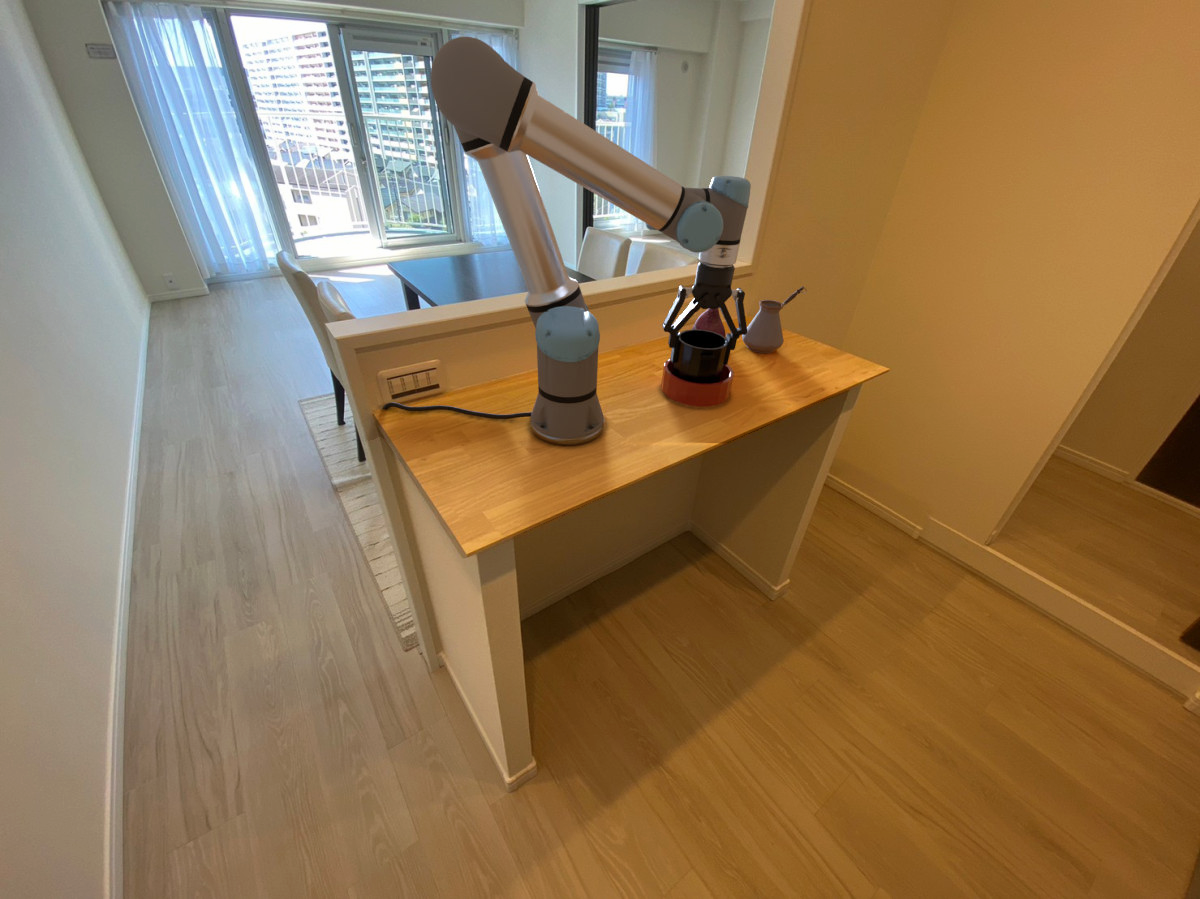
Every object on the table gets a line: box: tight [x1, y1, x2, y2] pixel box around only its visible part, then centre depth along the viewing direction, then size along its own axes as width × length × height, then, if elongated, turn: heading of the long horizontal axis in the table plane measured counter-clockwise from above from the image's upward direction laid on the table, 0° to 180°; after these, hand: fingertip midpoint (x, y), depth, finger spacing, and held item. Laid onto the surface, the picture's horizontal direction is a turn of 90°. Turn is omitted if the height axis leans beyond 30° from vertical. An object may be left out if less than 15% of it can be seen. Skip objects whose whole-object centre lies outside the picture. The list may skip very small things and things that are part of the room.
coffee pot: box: [741, 286, 808, 354], centre depth 139 cm, size 21×12×15 cm, turn 130°
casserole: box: [660, 357, 735, 408], centre depth 116 cm, size 16×16×6 cm
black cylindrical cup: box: [672, 328, 729, 384], centre depth 113 cm, size 11×14×12 cm
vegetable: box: [691, 308, 727, 338], centre depth 134 cm, size 10×10×15 cm
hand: (698, 361), depth 113 cm, fingers closed on black cylindrical cup, 11 cm apart
